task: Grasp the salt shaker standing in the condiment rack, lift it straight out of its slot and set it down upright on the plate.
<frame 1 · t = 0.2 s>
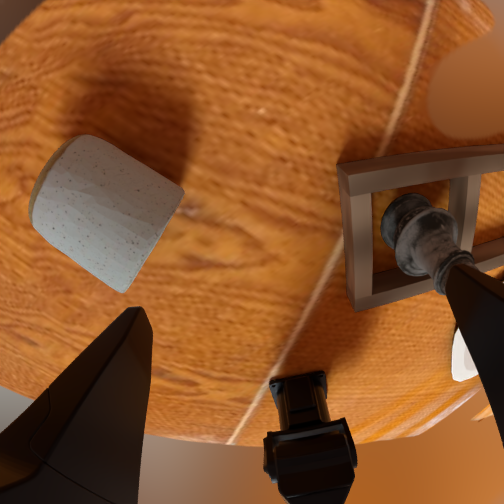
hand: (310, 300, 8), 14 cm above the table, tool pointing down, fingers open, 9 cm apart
salt shaker: (406, 221, 24), resting in condiment rack
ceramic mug: (117, 203, 21), on the table
plate: (503, 316, 33), on the table
condiment rack: (454, 212, 23), on the table
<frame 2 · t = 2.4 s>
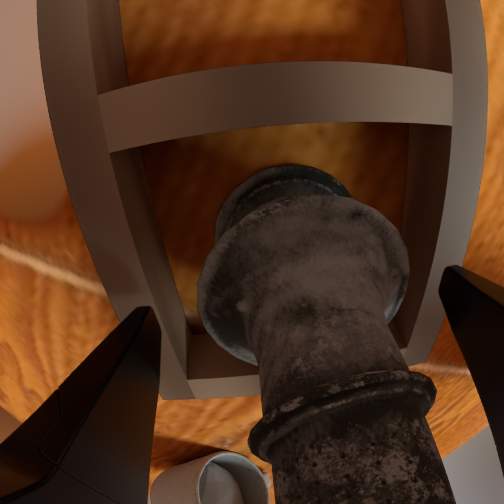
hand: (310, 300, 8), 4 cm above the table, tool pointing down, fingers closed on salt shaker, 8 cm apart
salt shaker: (288, 233, 11), resting in condiment rack, touching gripper
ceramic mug: (219, 462, 23), on the table
condiment rack: (278, 89, 8), on the table
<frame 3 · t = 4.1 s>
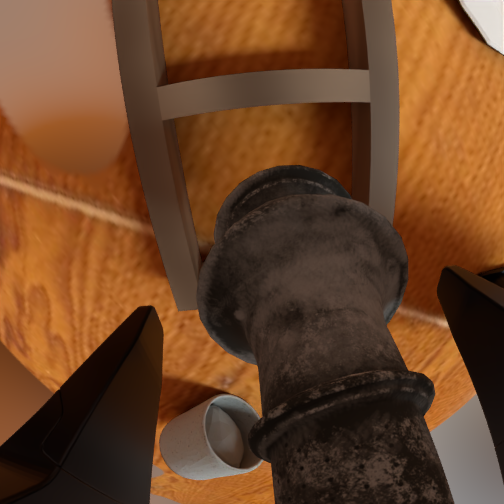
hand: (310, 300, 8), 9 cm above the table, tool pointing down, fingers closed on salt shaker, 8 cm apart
salt shaker: (287, 233, 11), point 6 cm above the table, touching gripper
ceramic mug: (222, 411, 28), on the table
condiment rack: (262, 87, 13), on the table
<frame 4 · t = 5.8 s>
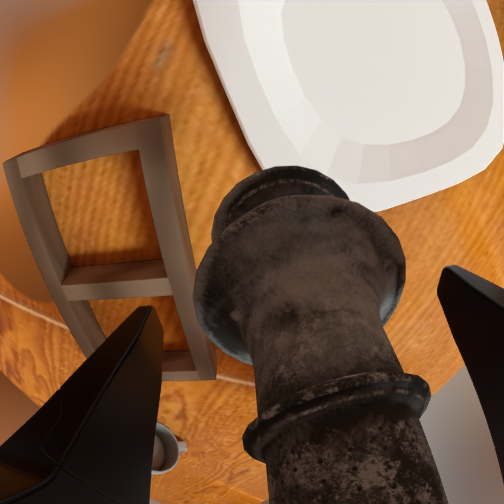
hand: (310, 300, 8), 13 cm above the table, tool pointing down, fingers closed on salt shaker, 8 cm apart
salt shaker: (285, 234, 11), point 9 cm above the table, touching gripper
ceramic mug: (154, 430, 38), on the table
plate: (381, 48, 16), on the table
condiment rack: (121, 271, 23), on the table
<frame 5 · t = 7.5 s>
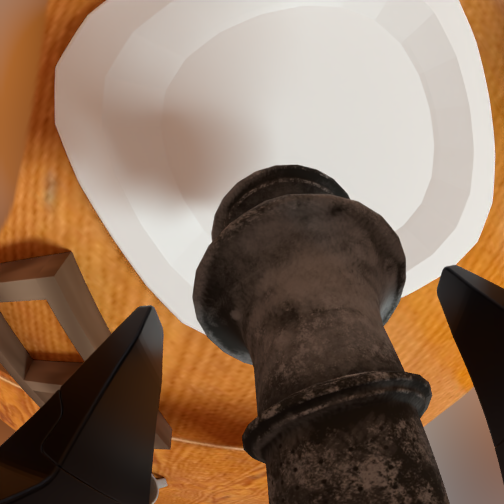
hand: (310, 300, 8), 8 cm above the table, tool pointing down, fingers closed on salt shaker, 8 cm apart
salt shaker: (285, 233, 11), point 4 cm above the table, touching gripper
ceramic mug: (136, 469, 37), on the table
plate: (309, 141, 14), on the table
condiment rack: (72, 367, 22), on the table
when the fingers open (6 cm above the table, at t = 9.0 s): salt shaker drops 2 cm, point 1 cm above the table.
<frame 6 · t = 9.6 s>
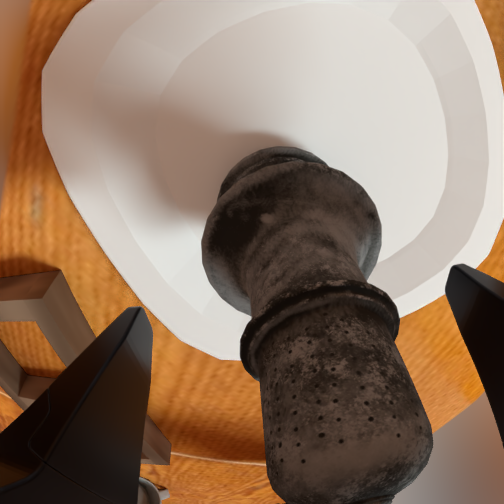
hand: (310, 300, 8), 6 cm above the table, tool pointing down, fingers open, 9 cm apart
salt shaker: (280, 206, 13), point 1 cm above the table
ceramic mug: (139, 480, 36), on the table
plate: (316, 150, 13), on the table
condiment rack: (67, 384, 21), on the table
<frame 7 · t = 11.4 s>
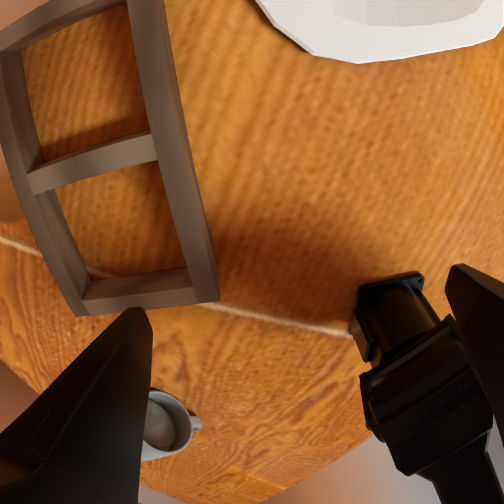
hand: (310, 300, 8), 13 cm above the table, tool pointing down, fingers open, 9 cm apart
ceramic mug: (162, 405, 34), on the table
condiment rack: (99, 154, 18), on the table
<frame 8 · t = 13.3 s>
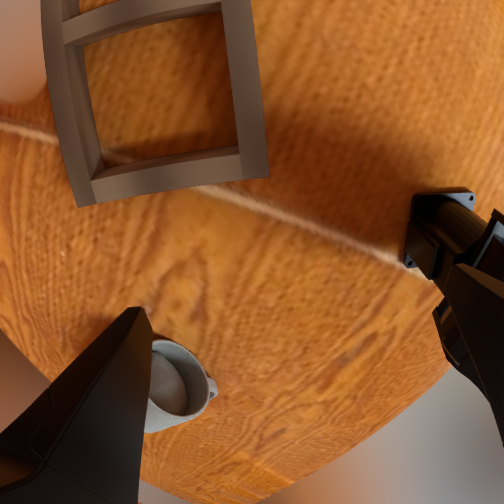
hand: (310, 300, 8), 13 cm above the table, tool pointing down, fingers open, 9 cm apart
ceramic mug: (171, 365, 29), on the table
condiment rack: (146, 15, 13), on the table
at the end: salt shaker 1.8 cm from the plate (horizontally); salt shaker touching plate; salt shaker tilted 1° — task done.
